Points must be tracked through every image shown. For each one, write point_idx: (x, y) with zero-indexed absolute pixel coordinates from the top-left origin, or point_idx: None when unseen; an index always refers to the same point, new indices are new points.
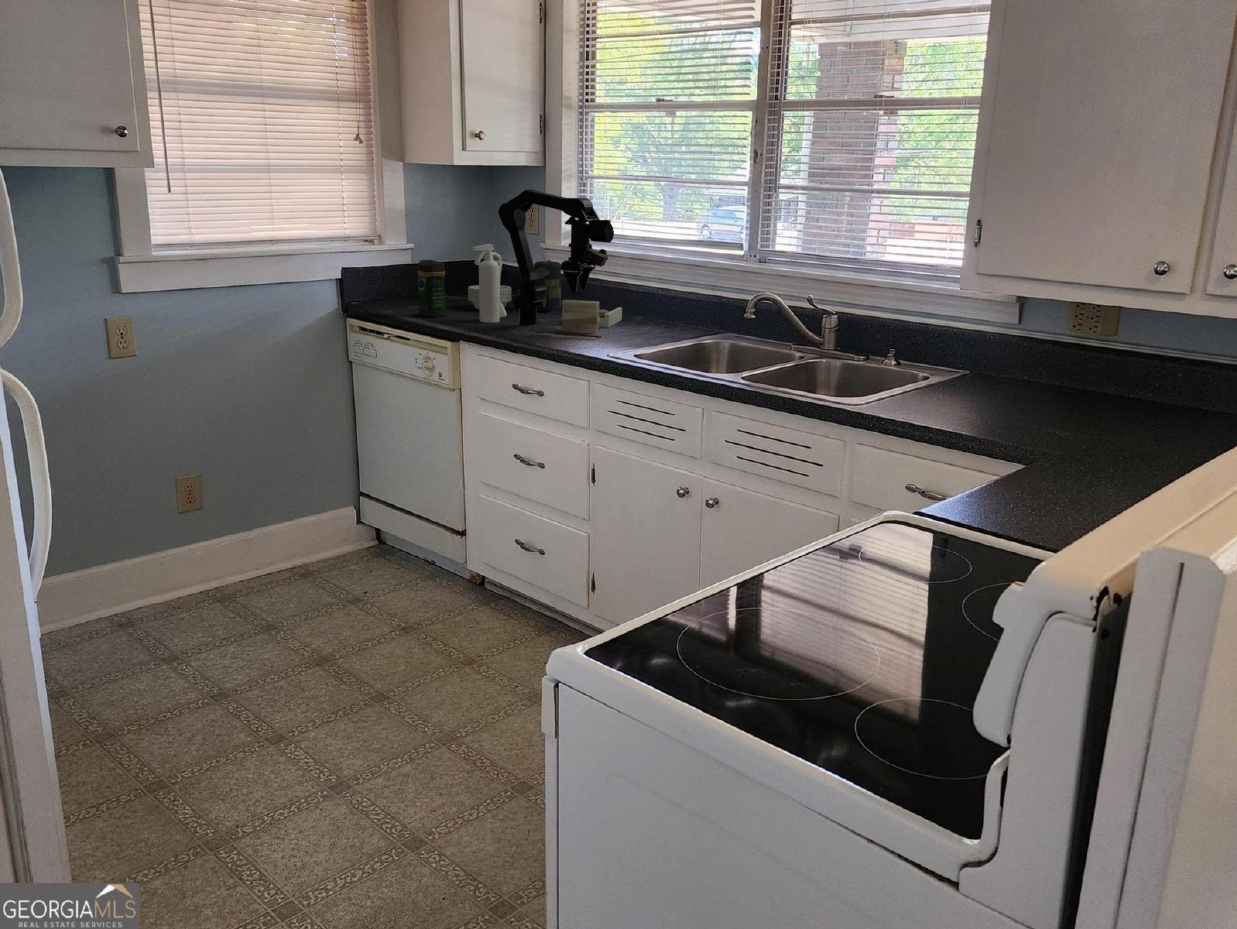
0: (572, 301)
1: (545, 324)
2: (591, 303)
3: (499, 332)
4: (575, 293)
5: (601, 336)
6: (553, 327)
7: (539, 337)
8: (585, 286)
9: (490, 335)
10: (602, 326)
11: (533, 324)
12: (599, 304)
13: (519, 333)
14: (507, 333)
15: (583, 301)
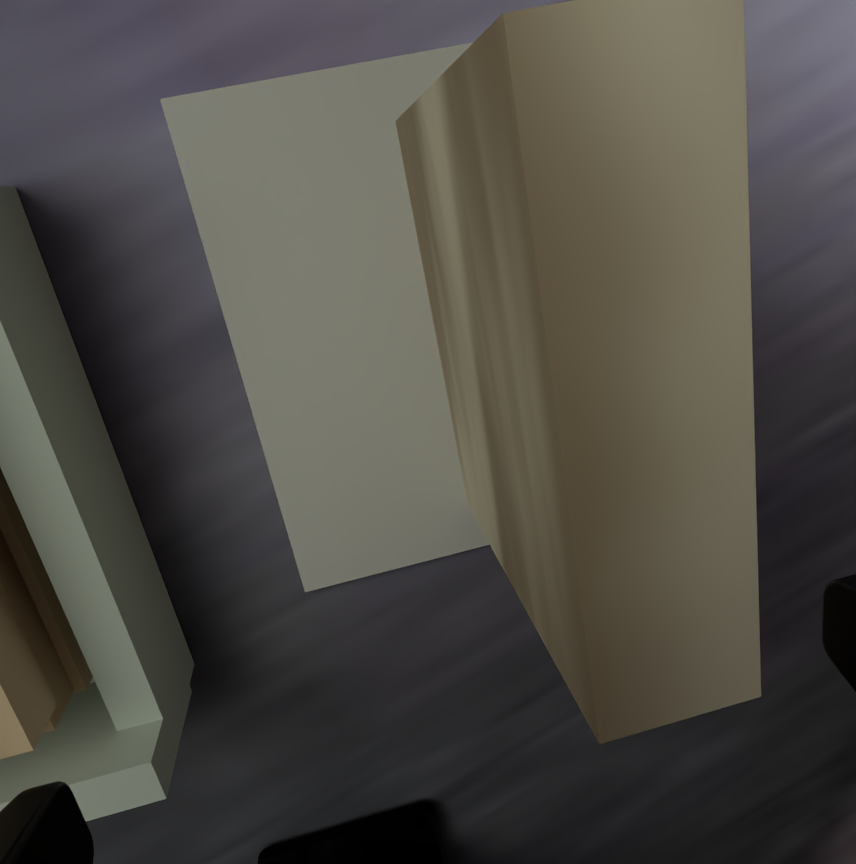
0: (754, 536)
1: (165, 859)
2: (733, 127)
3: (700, 861)
4: (853, 575)
5: (466, 45)
6: (260, 731)
7: (773, 546)
8: (20, 853)
9: (829, 830)
10: (26, 261)
11: (395, 850)
12: (487, 31)
13: (676, 751)
14: (713, 805)
15: (675, 361)
